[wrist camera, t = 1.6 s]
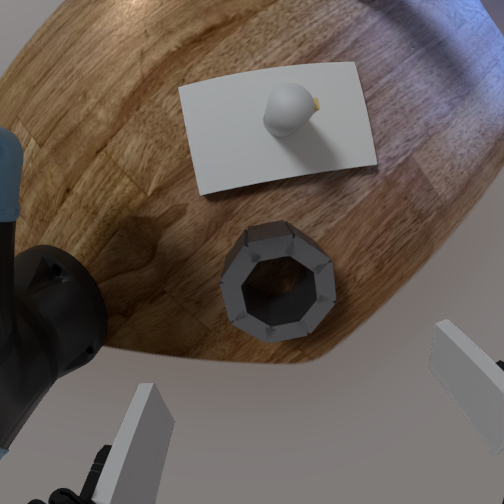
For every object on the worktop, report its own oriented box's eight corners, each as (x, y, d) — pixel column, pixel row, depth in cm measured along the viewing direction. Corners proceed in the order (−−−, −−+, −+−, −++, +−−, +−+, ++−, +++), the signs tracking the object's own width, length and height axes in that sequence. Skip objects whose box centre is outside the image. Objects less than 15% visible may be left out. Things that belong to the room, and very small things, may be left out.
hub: (238, 314, 29) (236, 348, 23) (219, 232, 27) (211, 250, 21) (322, 298, 29) (338, 328, 23) (310, 214, 26) (328, 227, 20)
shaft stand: (202, 194, 26) (184, 203, 18) (181, 90, 23) (157, 64, 16) (372, 164, 25) (412, 164, 18) (350, 65, 22) (381, 36, 15)
